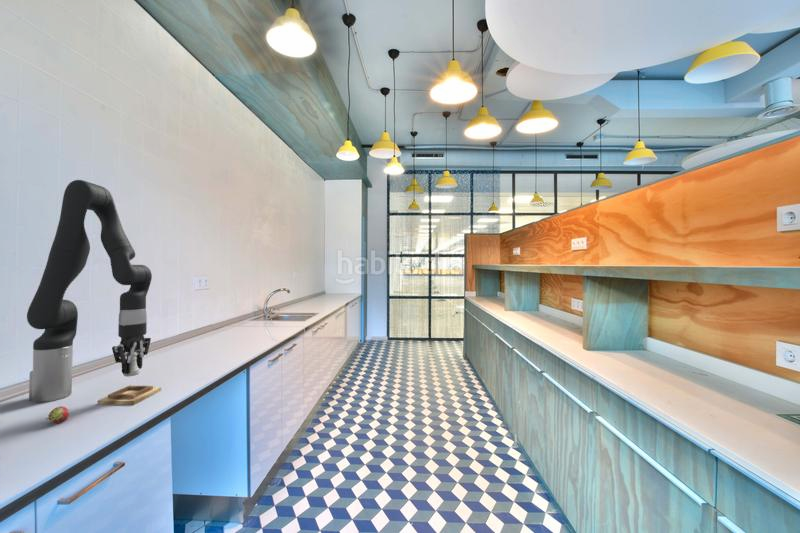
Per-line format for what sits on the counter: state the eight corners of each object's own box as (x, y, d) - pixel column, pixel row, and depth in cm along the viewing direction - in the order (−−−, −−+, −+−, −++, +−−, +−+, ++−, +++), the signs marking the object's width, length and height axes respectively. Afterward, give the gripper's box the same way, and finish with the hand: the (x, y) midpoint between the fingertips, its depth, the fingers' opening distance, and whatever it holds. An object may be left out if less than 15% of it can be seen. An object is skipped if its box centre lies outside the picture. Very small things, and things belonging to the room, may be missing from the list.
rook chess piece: (126, 373, 112) (126, 350, 112) (141, 372, 114) (142, 349, 114) (120, 377, 108) (121, 353, 108) (137, 375, 110) (137, 352, 110)
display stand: (97, 404, 105) (97, 396, 105) (128, 390, 117) (128, 383, 117) (134, 404, 105) (134, 397, 105) (161, 390, 117) (161, 384, 117)
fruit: (74, 416, 97) (74, 399, 97) (64, 425, 91) (64, 407, 91) (54, 418, 95) (55, 402, 95) (43, 428, 89) (44, 410, 89)
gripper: (138, 318, 118) (137, 364, 118) (103, 325, 104) (102, 378, 104) (158, 318, 118) (158, 364, 118) (126, 325, 104) (125, 378, 104)
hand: (132, 370), depth 111 cm, fingers closed on rook chess piece, 4 cm apart
